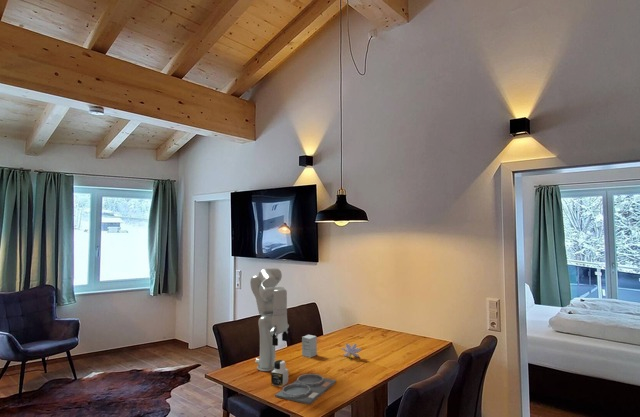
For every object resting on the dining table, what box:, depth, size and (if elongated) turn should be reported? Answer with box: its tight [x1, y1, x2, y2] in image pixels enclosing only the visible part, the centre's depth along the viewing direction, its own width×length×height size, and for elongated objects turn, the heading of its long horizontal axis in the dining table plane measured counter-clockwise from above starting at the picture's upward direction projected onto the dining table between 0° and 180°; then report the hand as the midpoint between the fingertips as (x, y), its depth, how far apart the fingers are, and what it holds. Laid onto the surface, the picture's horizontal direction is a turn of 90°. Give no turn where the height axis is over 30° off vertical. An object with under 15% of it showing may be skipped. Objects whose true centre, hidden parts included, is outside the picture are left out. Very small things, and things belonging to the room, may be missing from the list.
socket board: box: [274, 374, 337, 405], centre depth 198 cm, size 20×30×1 cm, turn 153°
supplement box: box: [301, 334, 318, 358], centre depth 253 cm, size 7×7×13 cm
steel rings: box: [282, 373, 324, 398], centre depth 199 cm, size 14×29×2 cm, turn 153°
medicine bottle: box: [270, 359, 289, 388], centre depth 206 cm, size 7×7×12 cm
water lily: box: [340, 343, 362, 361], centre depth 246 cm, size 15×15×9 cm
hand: (280, 343), depth 207 cm, fingers open, 9 cm apart
